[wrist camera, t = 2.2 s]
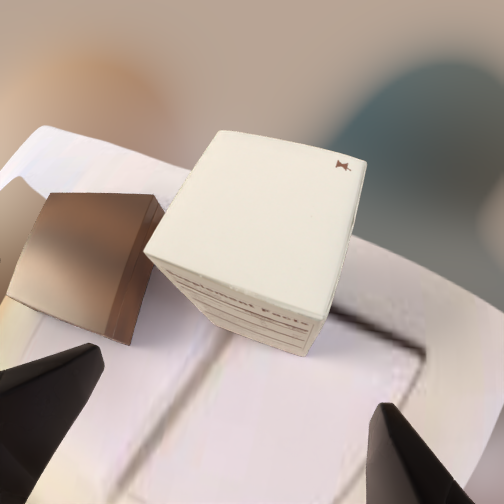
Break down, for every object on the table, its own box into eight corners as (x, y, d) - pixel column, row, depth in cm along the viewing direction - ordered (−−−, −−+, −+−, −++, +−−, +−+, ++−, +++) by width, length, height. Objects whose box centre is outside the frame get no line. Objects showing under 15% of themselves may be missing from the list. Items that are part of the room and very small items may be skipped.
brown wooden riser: (130, 346, 22) (103, 335, 18) (30, 308, 24) (5, 294, 20) (169, 220, 27) (154, 194, 23) (68, 212, 29) (50, 192, 26)
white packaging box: (249, 245, 25) (219, 123, 13) (335, 272, 23) (373, 157, 11) (211, 326, 22) (135, 250, 11) (304, 362, 20) (330, 322, 9)
